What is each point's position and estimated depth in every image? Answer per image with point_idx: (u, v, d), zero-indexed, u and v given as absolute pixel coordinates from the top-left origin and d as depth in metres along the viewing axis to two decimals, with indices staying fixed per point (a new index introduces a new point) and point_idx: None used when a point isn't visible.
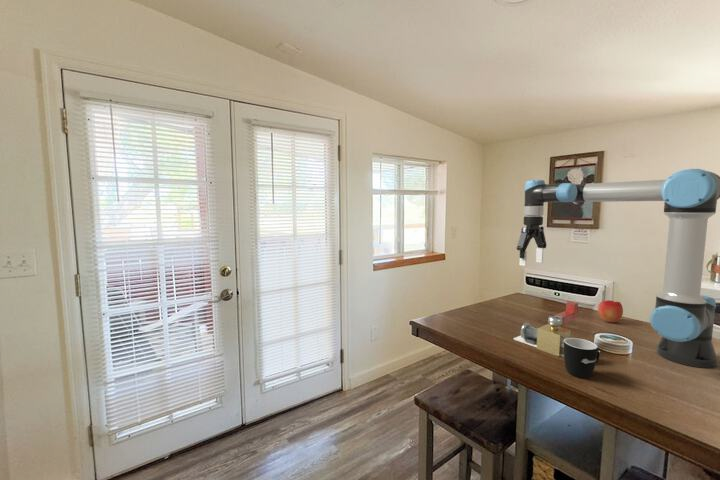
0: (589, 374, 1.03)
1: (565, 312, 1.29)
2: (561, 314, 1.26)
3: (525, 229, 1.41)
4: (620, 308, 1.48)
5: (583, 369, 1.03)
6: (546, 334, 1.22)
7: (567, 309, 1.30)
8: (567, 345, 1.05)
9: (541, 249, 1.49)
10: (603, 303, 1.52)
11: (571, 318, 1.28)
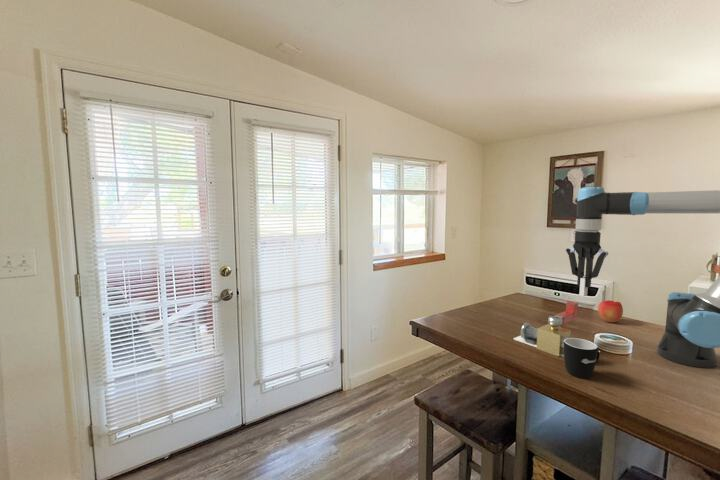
0: (589, 374, 1.03)
1: (565, 312, 1.29)
2: (561, 314, 1.26)
3: None
4: (620, 308, 1.48)
5: (583, 369, 1.03)
6: (546, 334, 1.22)
7: (567, 309, 1.30)
8: (567, 345, 1.05)
9: None
10: (603, 303, 1.52)
11: (571, 318, 1.28)
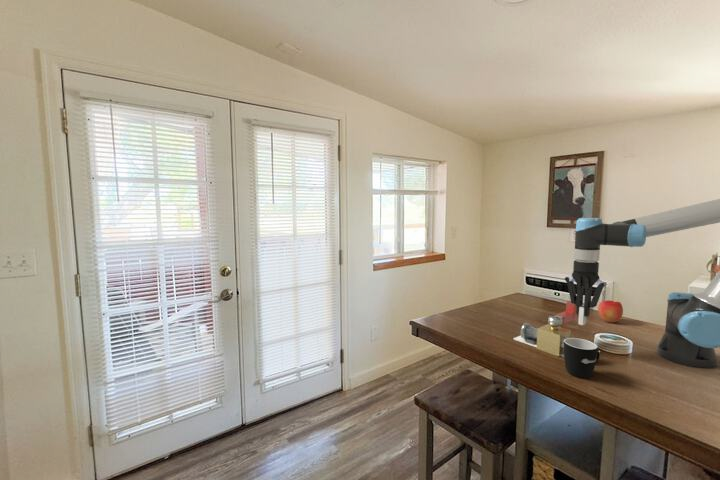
0: (589, 374, 1.03)
1: (565, 312, 1.29)
2: (561, 314, 1.26)
3: None
4: (620, 308, 1.48)
5: (583, 369, 1.03)
6: (546, 334, 1.22)
7: (567, 309, 1.30)
8: (567, 345, 1.05)
9: None
10: (603, 303, 1.52)
11: (571, 318, 1.28)
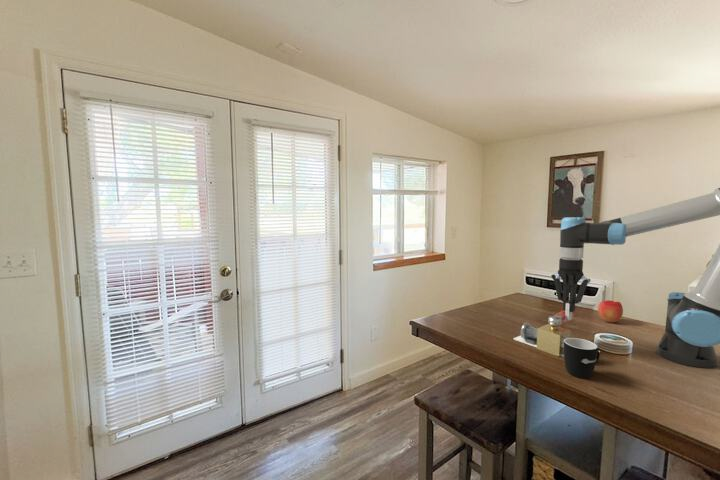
0: (589, 374, 1.03)
1: (562, 311, 1.30)
2: (560, 314, 1.27)
3: None
4: (620, 308, 1.48)
5: (583, 369, 1.03)
6: (546, 334, 1.22)
7: None
8: (567, 345, 1.05)
9: None
10: (603, 303, 1.52)
11: None
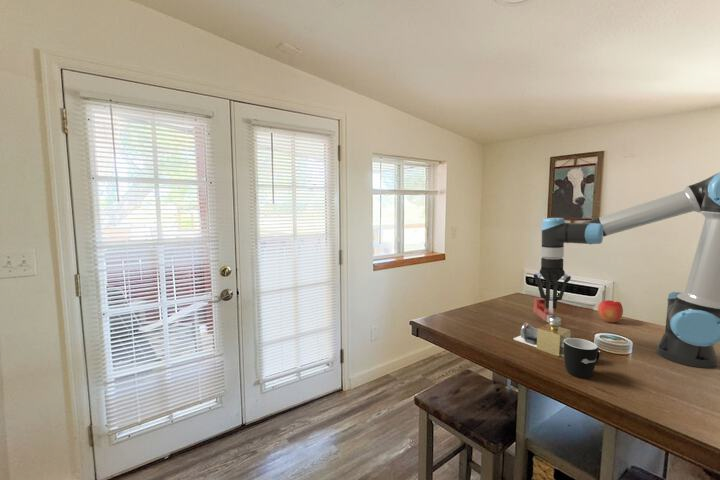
0: (589, 374, 1.03)
1: (540, 309, 1.33)
2: (547, 312, 1.29)
3: None
4: (620, 308, 1.48)
5: (583, 369, 1.03)
6: (546, 334, 1.22)
7: (538, 306, 1.35)
8: (567, 345, 1.05)
9: None
10: (603, 303, 1.52)
11: None
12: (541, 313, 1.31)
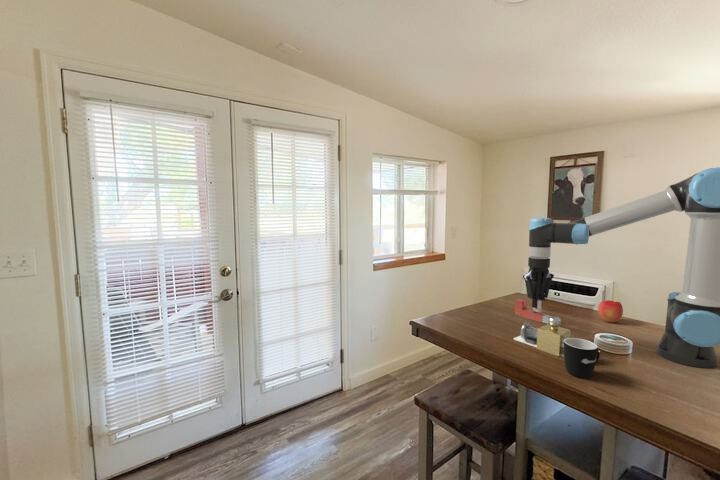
0: (589, 374, 1.03)
1: (527, 310, 1.31)
2: (539, 313, 1.28)
3: (526, 278, 1.29)
4: (620, 308, 1.48)
5: (583, 369, 1.03)
6: (546, 334, 1.22)
7: (522, 308, 1.33)
8: (567, 345, 1.05)
9: None
10: (603, 303, 1.52)
11: None
12: (532, 315, 1.29)
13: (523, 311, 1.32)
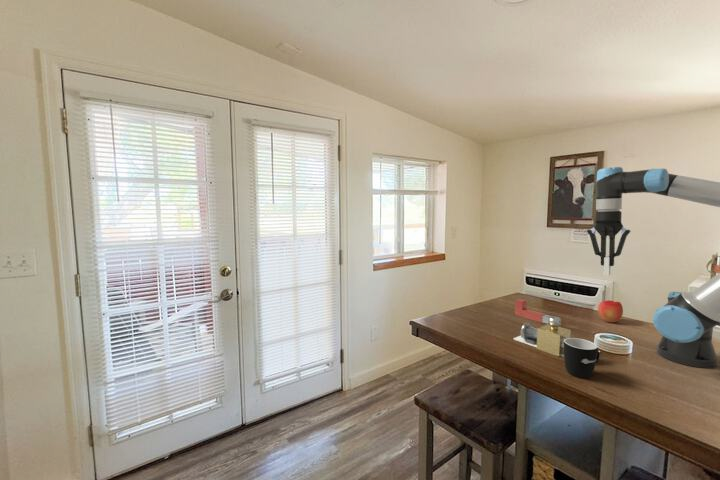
0: (589, 374, 1.03)
1: (527, 310, 1.31)
2: (539, 313, 1.28)
3: None
4: (620, 308, 1.48)
5: (583, 369, 1.03)
6: (546, 334, 1.22)
7: (522, 308, 1.33)
8: (567, 345, 1.05)
9: None
10: (603, 303, 1.52)
11: None
12: (532, 315, 1.29)
13: (523, 311, 1.32)
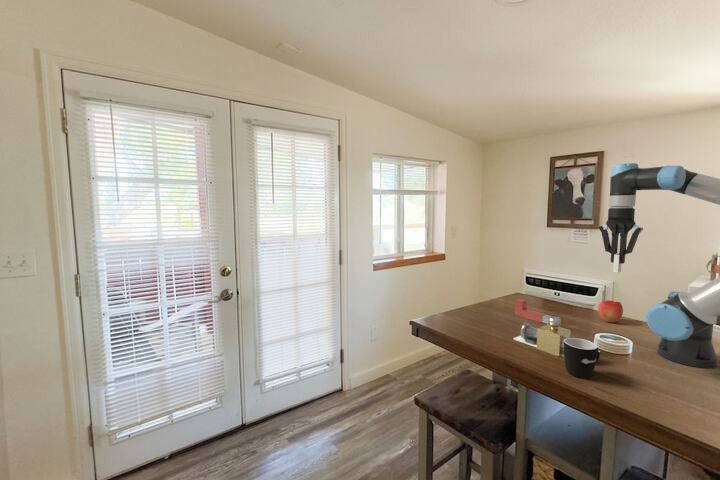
0: (589, 374, 1.03)
1: (527, 310, 1.31)
2: (539, 313, 1.28)
3: None
4: (620, 308, 1.48)
5: (583, 369, 1.03)
6: (546, 334, 1.22)
7: (522, 308, 1.33)
8: (567, 345, 1.05)
9: None
10: (603, 303, 1.52)
11: None
12: (532, 315, 1.29)
13: (523, 311, 1.32)
